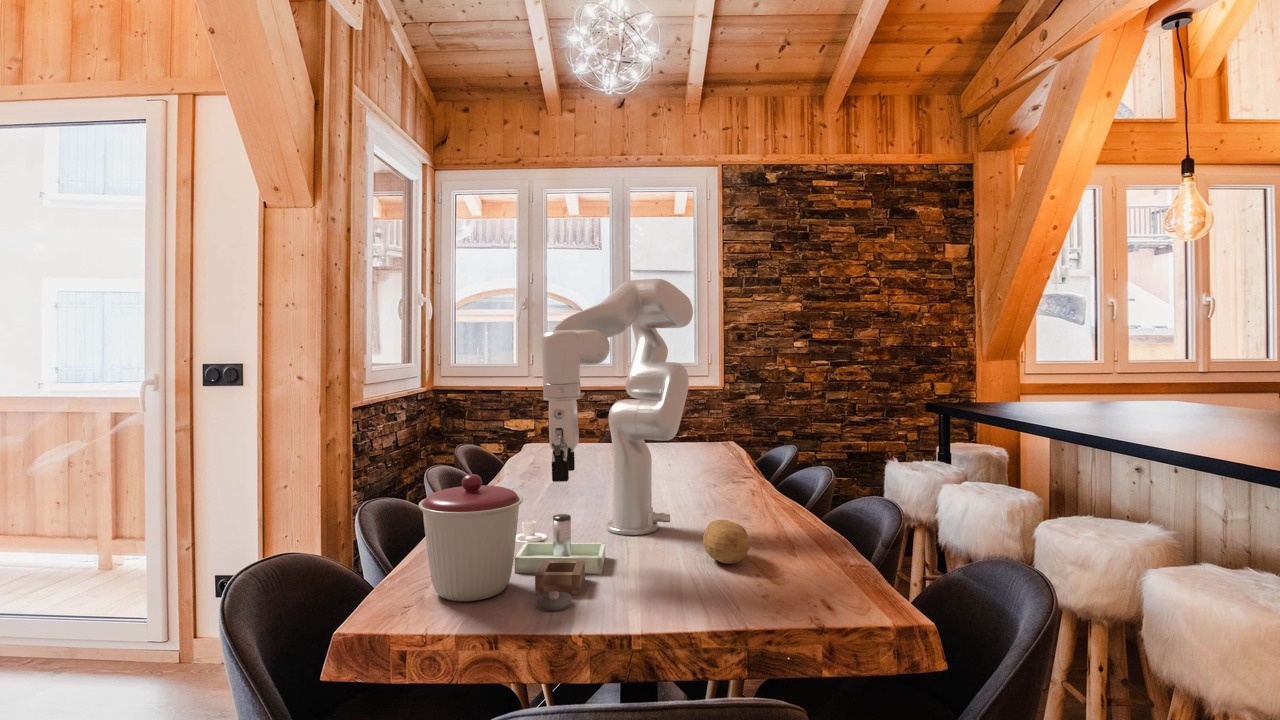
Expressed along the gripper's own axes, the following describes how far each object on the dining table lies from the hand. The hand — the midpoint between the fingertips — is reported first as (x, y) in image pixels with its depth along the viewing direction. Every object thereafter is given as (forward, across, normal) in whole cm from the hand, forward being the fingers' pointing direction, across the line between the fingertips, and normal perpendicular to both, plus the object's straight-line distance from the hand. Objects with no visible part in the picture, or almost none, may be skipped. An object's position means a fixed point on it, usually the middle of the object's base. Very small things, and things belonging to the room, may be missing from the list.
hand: (563, 475), depth 129 cm
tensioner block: (+17, -17, -1) cm, 24 cm away
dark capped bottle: (+17, -1, +1) cm, 17 cm away
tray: (+18, -1, +1) cm, 18 cm away
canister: (+17, -16, +15) cm, 28 cm away
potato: (+19, +2, -33) cm, 38 cm away
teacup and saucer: (+19, +15, +12) cm, 27 cm away
